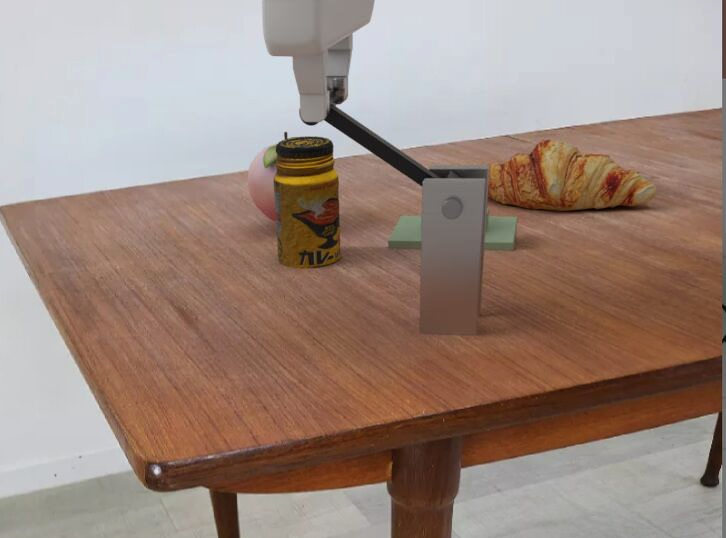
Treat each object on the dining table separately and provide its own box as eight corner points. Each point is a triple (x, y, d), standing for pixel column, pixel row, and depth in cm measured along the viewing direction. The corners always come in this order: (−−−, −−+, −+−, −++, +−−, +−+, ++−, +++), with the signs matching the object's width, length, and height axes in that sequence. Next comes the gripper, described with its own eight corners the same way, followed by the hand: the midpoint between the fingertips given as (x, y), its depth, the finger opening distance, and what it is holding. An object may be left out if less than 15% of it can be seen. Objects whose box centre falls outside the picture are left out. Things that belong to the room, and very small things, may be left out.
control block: (515, 238, 98) (519, 198, 96) (511, 265, 91) (515, 222, 88) (400, 236, 100) (401, 197, 98) (388, 263, 93) (388, 221, 91)
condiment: (337, 285, 88) (333, 149, 82) (250, 283, 90) (239, 149, 83) (351, 261, 94) (348, 132, 87) (269, 260, 96) (260, 133, 89)
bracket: (380, 357, 74) (380, 186, 67) (395, 320, 80) (396, 161, 73) (510, 362, 72) (524, 186, 65) (515, 324, 78) (528, 160, 71)
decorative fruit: (270, 215, 110) (264, 122, 104) (336, 218, 107) (333, 123, 102) (237, 238, 103) (229, 140, 97) (307, 242, 100) (303, 141, 95)
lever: (292, 121, 67) (308, 89, 65) (309, 107, 71) (325, 77, 70) (458, 233, 69) (477, 204, 67) (465, 213, 73) (483, 185, 71)
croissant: (651, 232, 108) (666, 160, 107) (648, 210, 99) (665, 131, 97) (470, 217, 115) (483, 149, 114) (452, 196, 106) (466, 121, 105)
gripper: (338, -130, 52) (340, 141, 60) (393, -124, 68) (389, 88, 76) (228, -125, 53) (244, 140, 61) (308, -120, 69) (313, 88, 77)
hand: (325, 111), depth 68 cm, fingers closed on lever, 5 cm apart
